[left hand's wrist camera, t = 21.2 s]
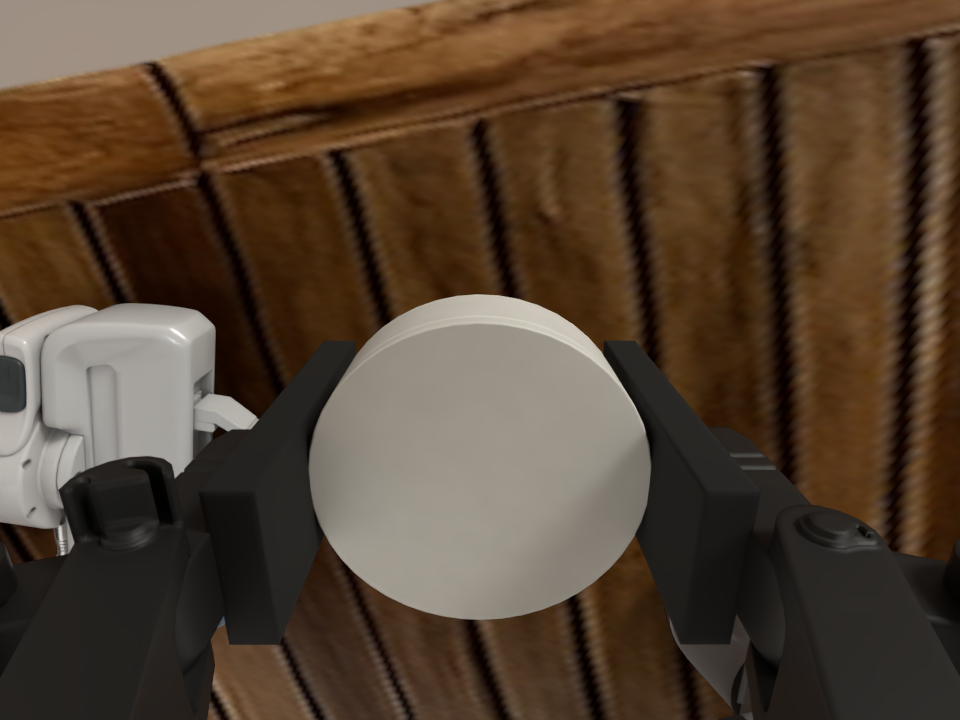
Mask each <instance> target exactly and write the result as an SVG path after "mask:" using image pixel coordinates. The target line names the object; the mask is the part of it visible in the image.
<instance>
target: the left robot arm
mask: <svg viewBox="0 0 960 720" xmlns="http://www.w3.org/2000/svg"><path fill="white" fill-rule="evenodd" d="M355 356H356V344H355V341H324V342H323V343H322V344H321V346H320V347H319V348H318V349H317V350H316V352H315V353H314V354H313V355H312V356H311V358H310V359H309V360H308V361H307V362H306V364H305V365H304V366H303V367H302V368H301V370H300V371H299V372H298V373H297V374H296V376H295V377H294V378H293V379H292V380H291V382H290V383H289V384H288V385H287V386H286V388H285V389H284V390H283V391H282V392H281V394H280V395H279V396H278V397H277V398H276V400H275V401H274V402H273V403H272V404H271V406H270V407H269V408H268V409H267V410H266V412H265V413H264V414H263V415H262V416H261V418H260V419H259V420H258V421H257V422H256V424H255V425H254V426H253V427H252V428H251V429H231V430H230V431H228V432H226V433H224V434H223V435H221V436H219V437H217V438H216V439H214V440H212V441H210V442H209V443H208V444H207V445H206V446H205V447H204V448H203V449H202V450H201V452H200V453H199V454H198V455H197V456H196V459H195V460H192V461H191V462H190V463H189V464H188V465H187V466H186V467H185V469H184V472H181V473H180V474H179V475H178V476H177V477H176V478H175V476H174V471H173V467H172V464H171V463H169V462H168V461H166V460H165V459H163V458H158V457H152V456H140V457H128V458H123V459H118V460H114V461H109V462H106V463H103V464H100V465H98V466H95V467H92V468H90V469H87V470H85V471H83V472H82V473H80V474H78V475H76V476H75V477H73V478H71V479H69V480H68V481H67V482H66V483H65V484H64V485H63V486H62V487H61V488H60V489H59V490H58V491H59V494H60V497H61V501H62V504H63V507H64V510H65V514H66V517H67V520H68V524H69V527H70V530H71V533H72V537H73V540H74V545H73V547H72V549H71V550H70V552H69V554H65V555H60V556H55V557H50V558H45V559H40V560H35V561H30V562H24V563H19V564H14V565H12V562H11V560H10V557H9V554H8V551H7V548H6V546H5V544H3V543H2V542H0V720H207V716H208V709H209V702H210V696H211V689H212V682H213V675H214V668H215V662H214V655H213V649H212V645H211V638H212V636H213V634H214V633H215V631H216V629H217V627H218V625H219V624H220V622H221V620H222V618H223V616H224V620H225V624H226V629H227V634H228V639H229V644H230V645H279V644H280V641H281V639H282V636H283V634H284V631H285V629H286V626H287V624H288V622H289V619H290V617H291V614H292V612H293V609H294V607H295V605H296V602H297V600H298V597H299V595H300V592H301V590H302V587H303V585H304V583H305V580H306V578H307V575H308V573H309V570H310V568H311V565H312V563H313V561H314V558H315V556H316V553H317V551H318V548H319V546H320V543H321V541H322V539H323V536H324V532H323V530H322V528H321V527H320V524H319V522H318V519H317V516H316V514H315V511H314V508H313V502H312V495H311V487H310V479H309V470H308V461H309V449H310V445H311V441H312V437H313V433H314V429H315V427H316V424H317V422H318V419H319V417H320V414H321V412H322V410H323V408H324V407H325V405H326V403H327V402H328V400H329V398H330V397H331V395H332V393H333V392H334V390H335V388H336V387H337V385H338V384H339V382H340V380H341V379H342V377H343V376H344V374H345V372H346V371H347V369H348V367H349V366H350V364H351V363H352V361H353V359H354V358H355ZM603 356H604V357H605V359H606V360H607V362H608V363H609V365H610V366H611V368H612V370H613V371H614V373H615V374H616V376H617V378H618V379H619V381H620V382H621V384H622V386H623V387H624V389H625V390H626V392H627V394H628V395H629V397H630V399H631V400H632V402H633V403H634V405H635V407H636V409H637V411H638V413H639V416H640V418H641V420H642V422H643V424H644V428H645V431H646V435H647V438H648V442H649V447H650V455H651V475H650V484H649V492H648V500H647V506H646V509H645V512H644V515H643V518H642V521H641V523H640V525H639V527H638V529H637V531H636V533H635V535H636V537H637V539H638V542H639V544H640V547H641V549H642V552H643V554H644V557H645V559H646V561H647V564H648V566H649V569H650V571H651V574H652V576H653V579H654V581H655V583H656V586H657V588H658V591H659V593H660V596H661V598H662V600H663V603H664V605H665V614H666V617H667V621H668V623H669V626H670V628H671V631H672V633H673V636H674V638H675V640H676V642H677V644H678V646H679V648H680V649H681V650H682V652H683V653H684V655H685V656H686V657H687V659H688V660H689V661H690V662H691V663H692V664H693V665H694V667H695V668H696V669H697V670H698V671H699V672H700V673H701V674H702V676H703V677H704V678H705V679H706V680H707V681H708V682H709V683H710V684H711V686H712V687H713V688H714V689H715V690H716V691H717V692H718V693H719V695H720V696H721V697H722V698H723V699H724V700H725V701H726V702H727V704H728V705H729V706H730V707H731V708H732V711H733V713H734V715H735V716H731V717H727V718H722V719H716V720H960V539H959V540H958V541H956V542H955V544H954V547H953V550H952V552H951V555H950V558H949V561H948V562H944V561H939V560H934V559H929V558H924V557H918V556H913V555H908V554H903V553H898V552H894V551H890V549H889V547H888V546H887V544H886V542H885V541H884V540H883V539H882V538H881V536H880V535H879V534H878V533H877V532H876V531H875V530H874V529H872V528H871V527H869V526H868V525H866V524H865V523H863V522H862V521H860V520H859V519H857V518H855V517H852V516H850V515H848V514H845V513H843V512H841V511H838V510H834V509H830V508H826V507H822V506H817V505H812V504H811V503H810V502H809V501H808V500H807V499H806V498H805V497H804V496H803V495H802V494H801V493H800V492H799V491H798V490H797V489H796V487H795V486H794V485H793V484H792V483H791V482H790V481H789V480H788V479H787V478H786V477H785V476H784V475H783V474H782V473H781V472H780V471H779V470H776V466H775V465H774V464H773V463H772V462H771V461H770V460H769V459H768V458H765V457H764V454H763V453H762V452H761V451H760V450H759V448H758V447H757V446H756V445H755V444H754V443H753V442H752V441H751V440H750V439H748V438H746V437H744V436H743V435H741V434H739V433H737V432H735V431H734V430H732V429H730V428H728V427H707V426H706V425H705V424H704V423H703V422H702V420H701V419H700V418H699V417H698V416H697V414H696V413H695V412H694V411H693V410H692V408H691V407H690V406H689V405H688V404H687V402H686V401H685V400H684V399H683V398H682V396H681V395H680V394H679V393H678V392H677V390H676V389H675V388H674V387H673V386H672V384H671V383H670V382H669V381H668V380H667V378H666V377H665V376H664V375H663V374H662V372H661V371H660V370H659V369H658V368H657V366H656V365H655V364H654V363H653V362H652V360H651V359H650V358H649V357H648V356H647V354H646V353H645V352H644V351H643V350H642V348H641V347H640V346H639V345H638V344H637V342H636V341H604V352H603Z"/></svg>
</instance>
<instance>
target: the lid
mask: <svg viewBox="0 0 960 720" xmlns="http://www.w3.org/2000/svg"><path fill="white" fill-rule="evenodd" d="M308 470H309V479H310V487H311V495H312V502H313V508H314V511H315V514H316V516H317V519H318V522H319V524H320V527H321V528H322V530H323V532H324V534H325V536H326V538H327V539H328V541H329V543H330V544H331V546H332V547H333V548H334V550H335V551H336V553H337V554H338V555H339V557H340V558H341V559H342V560H343V561H344V562H345V563H346V564H347V565H348V566H349V568H350V569H351V570H352V571H353V572H354V573H355V574H357V575H358V576H359V577H360V578H362V579H363V580H364V581H365V582H366V583H368V584H369V585H370V586H372V587H373V588H375V589H377V590H378V591H380V592H381V593H383V594H384V595H386V596H388V597H390V598H392V599H394V600H396V601H398V602H400V603H402V604H404V605H407V606H410V607H412V608H415V609H418V610H421V611H424V612H428V613H432V614H436V615H440V616H445V617H452V618H460V619H479V620H485V619H500V618H508V617H514V616H520V615H524V614H528V613H531V612H535V611H539V610H542V609H545V608H547V607H550V606H552V605H555V604H557V603H560V602H562V601H564V600H566V599H568V598H569V597H571V596H573V595H575V594H577V593H579V592H580V591H582V590H583V589H585V588H586V587H587V586H589V585H590V584H592V583H593V582H595V581H596V580H597V579H598V578H599V577H600V576H602V575H603V574H604V573H605V572H606V571H607V570H608V569H609V568H610V567H611V566H612V565H613V564H614V563H615V562H616V561H617V559H618V558H619V557H620V556H621V555H622V554H623V552H624V551H625V549H626V548H627V546H628V545H629V543H630V542H631V541H632V539H633V537H634V535H635V533H636V531H637V529H638V527H639V525H640V523H641V521H642V518H643V515H644V512H645V509H646V506H647V500H648V492H649V484H650V475H651V455H650V447H649V442H648V438H647V435H646V431H645V428H644V424H643V422H642V420H641V418H640V416H639V413H638V411H637V409H636V407H635V405H634V403H633V402H632V400H631V399H630V397H629V395H628V394H627V392H626V390H625V389H624V387H623V386H622V384H621V382H620V381H619V379H618V378H617V376H616V374H615V373H614V371H613V370H612V368H611V366H610V365H609V363H608V362H607V360H606V359H605V357H604V356H603V354H602V353H601V351H600V350H599V349H598V348H597V347H596V346H595V344H594V343H593V342H592V341H591V340H590V339H589V338H588V337H587V336H586V335H585V334H584V333H583V332H581V331H580V330H579V329H578V328H577V327H576V326H574V325H573V324H572V323H570V322H568V321H567V320H565V319H564V318H562V317H561V316H559V315H558V314H556V313H554V312H551V311H549V310H547V309H545V308H543V307H541V306H539V305H536V304H532V303H529V302H526V301H523V300H520V299H515V298H509V297H504V296H498V295H478V294H477V295H464V296H455V297H450V298H445V299H441V300H436V301H433V302H430V303H427V304H424V305H422V306H419V307H416V308H414V309H412V310H410V311H408V312H406V313H404V314H402V315H400V316H398V317H397V318H396V319H394V320H393V321H391V322H390V323H388V324H387V325H385V326H384V327H383V328H381V329H380V330H379V331H378V332H377V333H376V334H375V335H374V336H373V337H372V338H371V339H369V340H368V341H367V343H366V344H365V345H364V346H363V347H362V349H361V350H360V351H359V352H358V354H357V355H356V356H355V358H354V359H353V361H352V363H351V364H350V366H349V367H348V369H347V371H346V372H345V374H344V376H343V377H342V379H341V380H340V382H339V384H338V385H337V387H336V388H335V390H334V392H333V393H332V395H331V397H330V398H329V400H328V402H327V403H326V405H325V407H324V408H323V410H322V412H321V414H320V417H319V419H318V422H317V424H316V427H315V429H314V433H313V437H312V441H311V445H310V449H309V461H308Z"/></svg>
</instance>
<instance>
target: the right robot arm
mask: <svg viewBox="0 0 960 720" xmlns="http://www.w3.org/2000/svg"><path fill="white" fill-rule="evenodd" d="M215 336H216V330H215V326H214V325H213V324H212V323H211V322H210V321H209V320H208V319H207V318H206V317H205V316H204V315H203V314H201V313H200V312H199V311H196V310H192V309H188V308H182V307H174V306H166V305H155V304H136V303H125V304H117V305H114V306H111V307H108V308H105V309H103V310H100V311H98V310H96V309H94V308H91V307H88V306H83V305H73V306H67V307H62V308H58V309H54V310H50V311H47V312H44V313H41V314H38V315H35V316H32V317H30V318H27V319H25V320H23V321H20V322H18V323H16V324H14V325H12V326H9V327H7V328H5V329H4V330H2V331H0V522H3V523H10V524H17V525H23V526H30V527H36V528H44V529H49V528H53V530H54V537H55V541H56V544H57V553H56V556H60V555H65V554H69V552H70V550H71V549H72V547H73V545H74V540H73V537H72V533H71V530H70V527H69V524H68V520H67V517H66V514H65V510H64V507H63V504H62V501H61V497H60V494H59V491H58V490H59V489H60V488H61V487H62V486H63V485H64V484H65V483H66V482H67V481H68V480H69V479H71V478H73V477H75V476H76V475H78V474H80V473H82V472H83V471H85V470H87V469H90V468H92V467H95V466H98V465H100V464H103V463H106V462H109V461H114V460H118V459H123V458H128V457H140V456H152V457H158V458H163V459H165V460H166V461H168V462H169V463H171V464H172V467H173V471H174V476H175V478H176V477H177V476H178V475H179V474H180V473H181V472H184V469H185V467H186V466H187V465H188V464H189V463H190V462H191V461H192V460H195V459H196V456H197V455H198V454H199V453H200V452H201V450H202V449H203V448H204V447H205V446H206V445H207V444H208V443H209V442H210V441H212V440H213V432H214V431H215V430H216V429H217V428H218V427H219V426H220V427H221V428H223V429H225V430H226V431H230V430H231V429H251V428H252V427H253V426H254V425H255V424H256V422H257V421H258V420H259V419H257V417H256V416H255V415H254V414H252V413H251V412H250V411H248V410H247V409H246V408H244V407H243V406H242V405H240V404H239V403H238V402H237V401H235V400H234V399H233V398H231V397H228V396H222V395H216V394H214V370H215Z"/></svg>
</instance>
